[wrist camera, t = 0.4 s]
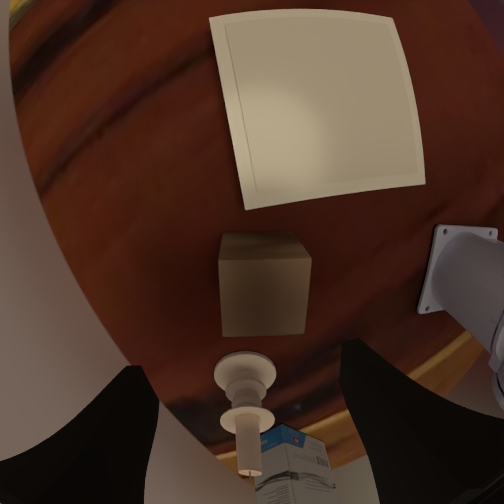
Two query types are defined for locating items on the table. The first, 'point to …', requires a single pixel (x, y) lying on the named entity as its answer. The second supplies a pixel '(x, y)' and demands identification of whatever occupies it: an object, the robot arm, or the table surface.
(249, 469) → the candle
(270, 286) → the block
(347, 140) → the plate
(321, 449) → the ink box
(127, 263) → the table surface
